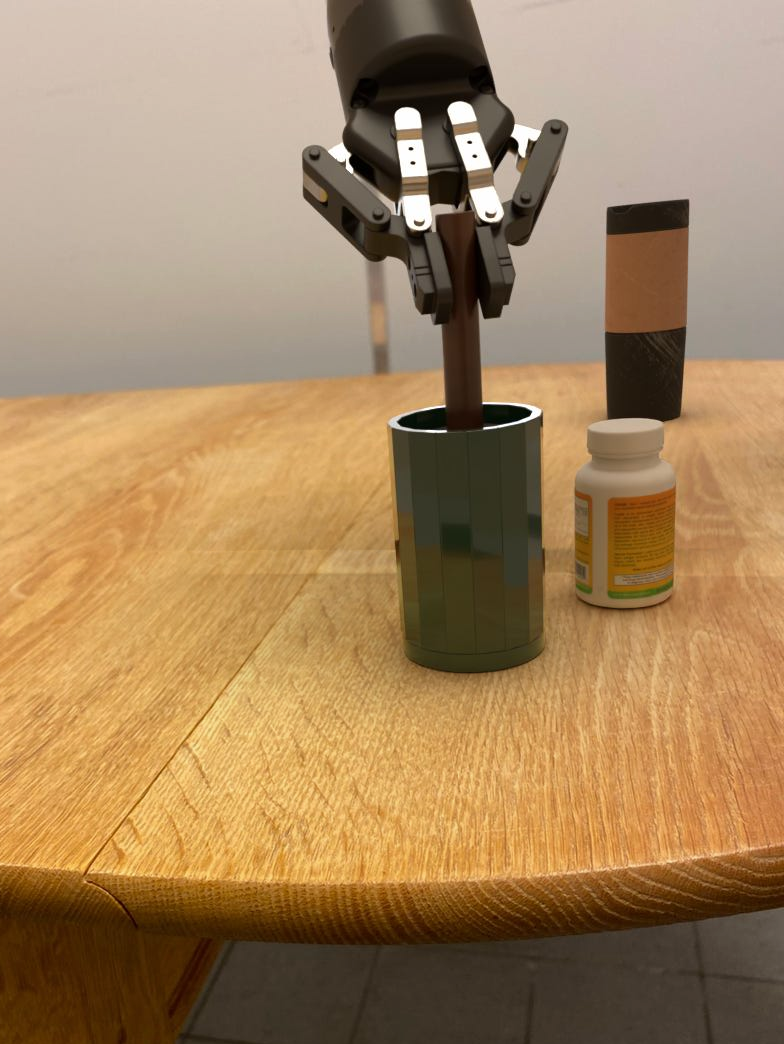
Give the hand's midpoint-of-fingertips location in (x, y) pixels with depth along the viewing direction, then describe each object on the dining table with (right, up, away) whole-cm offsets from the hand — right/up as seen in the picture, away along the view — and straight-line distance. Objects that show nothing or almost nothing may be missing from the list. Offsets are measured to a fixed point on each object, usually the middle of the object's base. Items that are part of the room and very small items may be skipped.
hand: (470, 308), depth 48 cm
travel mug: (+27, +7, +59) cm, 66 cm away
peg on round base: (+1, -11, +7) cm, 13 cm away
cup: (+1, -15, +8) cm, 17 cm away
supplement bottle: (+11, -13, +13) cm, 21 cm away
